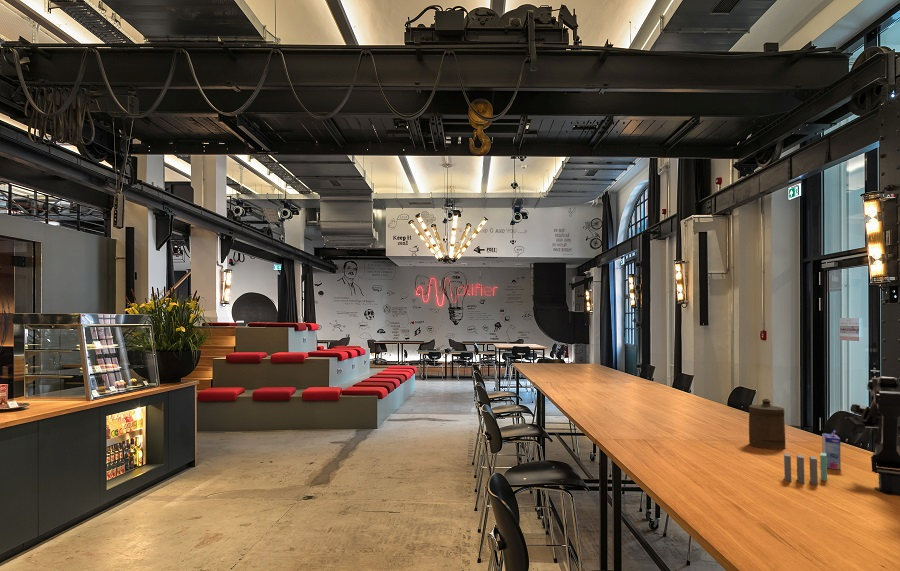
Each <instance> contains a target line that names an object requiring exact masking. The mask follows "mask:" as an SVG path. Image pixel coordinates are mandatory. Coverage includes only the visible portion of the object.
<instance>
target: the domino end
mask: <svg viewBox="0 0 900 571" xmlns="http://www.w3.org/2000/svg"><path fill="white" fill-rule="evenodd" d="M783 464H784V465H783V466H784V467H783V468H784V470H783V471H784V479H785V482H792V456H791V454H790V453H785V452H784V453H783Z"/></svg>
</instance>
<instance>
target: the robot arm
mask: <svg viewBox="0 0 900 571" xmlns="http://www.w3.org/2000/svg"><path fill="white" fill-rule="evenodd" d="M866 385H867V386H866V391H867V390H868V392H870V393H871V394H870V395H871V400H872V402H871V404H870V406H866V405H860V404H857V403H853V404H851V406H850V412H851V413H853V414H854V415H858V416H860V419H862V420H864V421H861V420H860V419H859V418H858V417H855V416H853V417H852V416H845V417H844V420H843V424H845V425H846V426H847V427H848V428H849V430H850V435H851V436H850V438H851V442H852V443H853V444H856V443H857V442H858V441H859V439H860V438H861V437H862V435H863V434H864V433H865V432H864V431H865V430H866V428H869V429H871V428H872V429H874V428H875V429H878V432H877V435H876V437H875V440H874V443H875V452H872V455H871V456H870V461H871V472H873V473H874V474H878V487H877V486H876V487H875V486H874V490H876V491H878V492H880V493H883V494H885V495H897V496H898V495H900V445H899V444H898V434H900V424H899V419H900V383H899V382H898V378H897V377H894V376H893V377H892V376H879V377H871V380H869V381H868V383H867V384H866Z"/></svg>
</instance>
